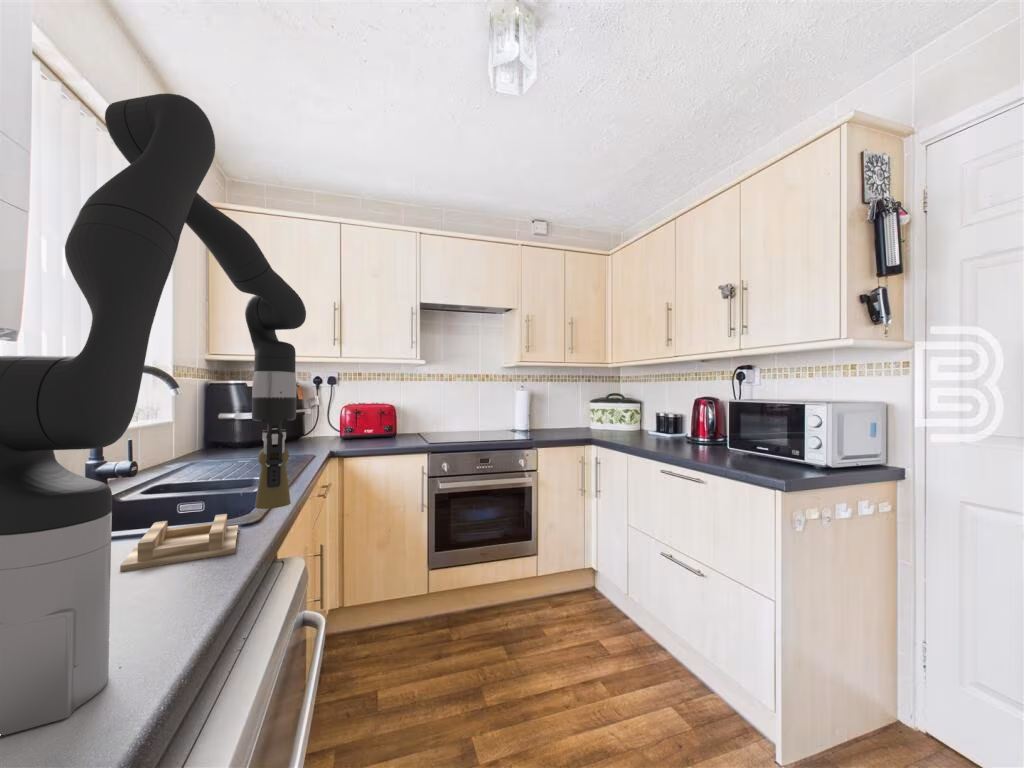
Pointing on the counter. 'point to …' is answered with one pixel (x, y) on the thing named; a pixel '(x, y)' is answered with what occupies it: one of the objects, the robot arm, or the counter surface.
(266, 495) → the olive pepper mill
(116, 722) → the counter surface
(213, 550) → the cradle
